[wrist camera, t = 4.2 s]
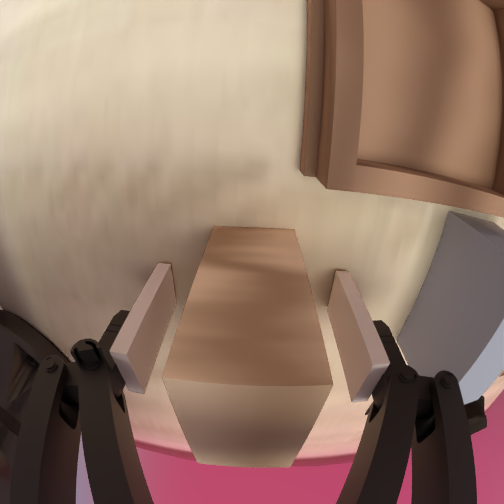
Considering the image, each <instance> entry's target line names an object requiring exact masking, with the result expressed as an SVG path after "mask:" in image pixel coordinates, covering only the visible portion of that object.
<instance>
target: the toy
mask: <svg viewBox="0 0 504 504" xmlns="http://www.w3.org/2000/svg"><path fill="white" fill-rule="evenodd" d="M464 406H465V411H466V415H467V420H468V425H469V430H470V435H472V434H474V433H476V432H478V431H480V430H482V429H484V428H486V427H487V419H486V415H485V413H484V397H483V396H481V397H480V398H479V399H478V400H476V401H473V402H470V403H467V404H465V405H464Z"/></svg>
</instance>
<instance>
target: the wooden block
mask: <svg viewBox="0 0 504 504" xmlns="http://www.w3.org/2000/svg"><path fill="white" fill-rule="evenodd" d="M162 379H163V382H164V384H165V387H166V390H167V393H168V395H169V398H170V401H171V403H172V406H173V408H174V411H175V413H176V416H177V418H178V421H179V423H180V426H181V428H182V430H183V433H184V435H185V437H186V439H187V442H188V444H189V446H190V448H191V450H192V452H193V455H194V457H195V459H196V461H197V463H204V464H211V465H222V466H235V467H290V466H291V465H292V463H293V461H294V460H295V458H296V456H297V455H298V453H299V451H300V449H301V448H302V446H303V444H304V442H305V440H306V439H307V437H308V435H309V433H310V431H311V429H312V427H313V426H314V424H315V422H316V420H317V418H318V416H319V414H320V412H321V410H322V408H323V406H324V404H325V401H326V399H327V397H328V395H329V393H330V391H331V389H332V386H333V381H332V376H331V371H330V367H329V362H328V358H327V353H326V349H325V345H324V340H323V336H322V332H321V328H320V323H319V319H318V315H317V311H316V307H315V303H314V299H313V295H312V291H311V288H310V284H309V280H308V276H307V273H306V269H305V265H304V261H303V258H302V254H301V251H300V247H299V244H298V240H297V237H296V233H295V230H294V229H275V228H253V227H228V226H214V228H213V230H212V233H211V235H210V238H209V241H208V243H207V246H206V249H205V251H204V254H203V257H202V259H201V262H200V265H199V268H198V270H197V273H196V276H195V279H194V282H193V284H192V287H191V290H190V293H189V296H188V299H187V301H186V304H185V307H184V310H183V313H182V316H181V319H180V322H179V325H178V328H177V331H176V334H175V337H174V340H173V343H172V347H171V350H170V353H169V356H168V359H167V362H166V366H165V369H164V372H163V375H162Z"/></svg>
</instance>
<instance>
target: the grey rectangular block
mask: <svg viewBox="0 0 504 504" xmlns="http://www.w3.org/2000/svg"><path fill="white" fill-rule="evenodd" d="M397 342H398V344H399V346H400V348H401V350H402V352H403V354H404V357H405V359H406V361H407V363H408V365H409V366H410V367H412V368H413V369H415V370H416V371H417V373H418V375H420V376H427V377H435V375H436V374H437V373H438V372H439V371H443V370H445V371H449V372H451V373H453V374H454V375H455V376H456V378H457V380H458V383H459V387H460V390H461V394H462V398H463V402H464V405H465V404H467V403H470V402H473V401H476V400H478V399H479V398H480V397H481V396H482V395H483V394H484V392H485V391H486V390H487V389H488V388H489V387H490V386H491V384H492V383H493V382H494V381H495V380H496V379H497V377H498V376H499V375H500V374H501V372H502V371H503V370H504V230H503V229H502V228H500V227H499V226H498V225H496V224H495V223H492V222H488V221H485V220H481V219H478V218H474V217H470V216H467V215H463V214H459V213H455V212H451V211H449V213H448V217H447V220H446V223H445V227H444V230H443V233H442V236H441V239H440V242H439V245H438V248H437V250H436V253H435V256H434V259H433V261H432V264H431V266H430V269H429V271H428V274H427V276H426V279H425V281H424V284H423V286H422V288H421V290H420V293H419V295H418V297H417V299H416V302H415V304H414V306H413V308H412V310H411V312H410V314H409V316H408V318H407V320H406V322H405V324H404V326H403V328H402V330H401V332H400V334H399V336H398V338H397Z"/></svg>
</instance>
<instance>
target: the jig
mask: <svg viewBox="0 0 504 504" xmlns="http://www.w3.org/2000/svg"><path fill="white" fill-rule="evenodd" d="M300 171H301V172H302V174H303V175H304V176H311V177H316V178H317V179H318V180H319V181H320V182H321V183H322V184H323V186H324V187H325V188H326V189H332V190H342V191H352V192H361V193H369V194H377V195H385V196H392V197H400V198H406V199H413V200H419V201H425V202H431V203H437V204H443V205H448V206H454V207H459V208H464V209H469V210H474V211H478V212H483V213H487V214H492V215H496V216H500V217H504V0H308V18H307V65H306V90H305V109H304V126H303V141H302V154H301V167H300Z"/></svg>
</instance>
